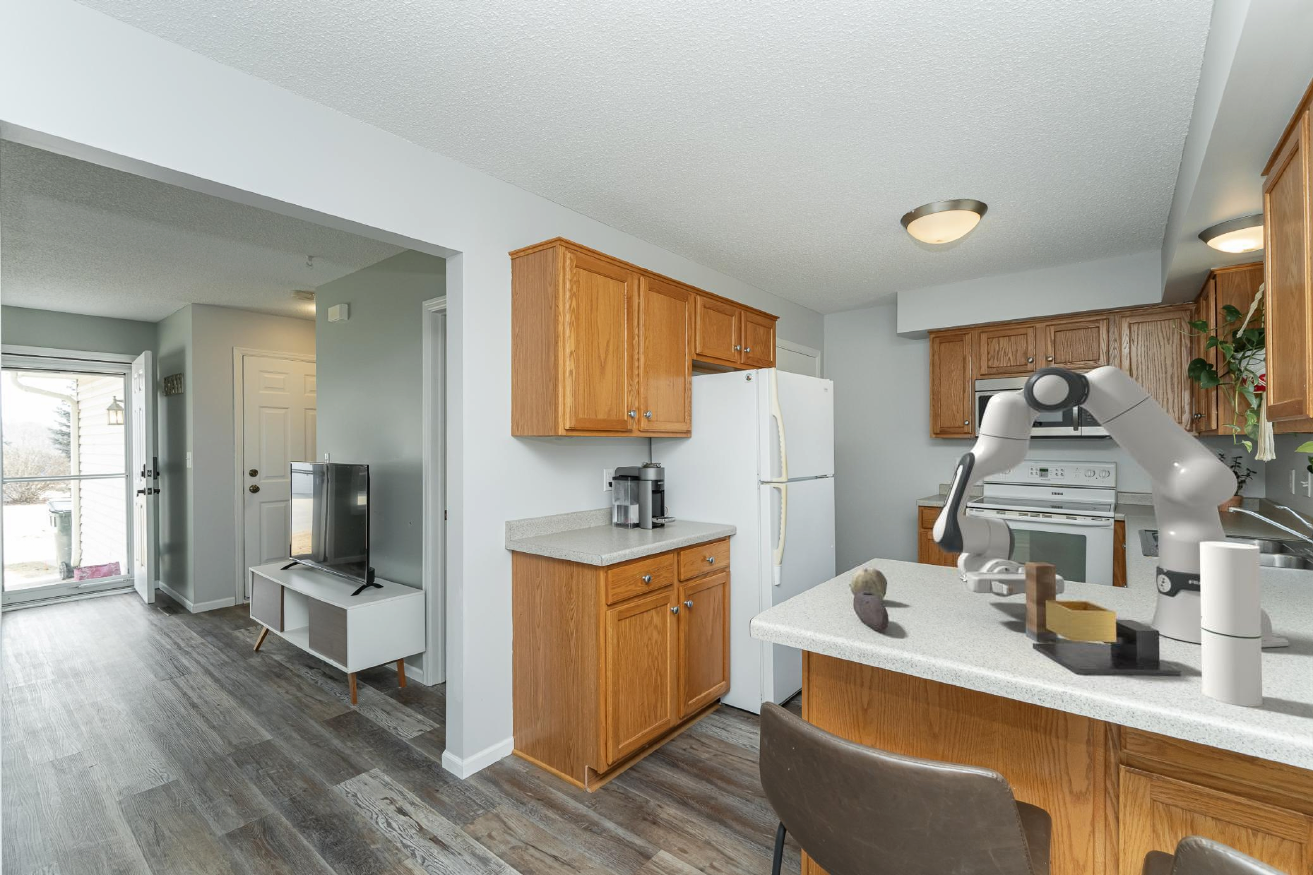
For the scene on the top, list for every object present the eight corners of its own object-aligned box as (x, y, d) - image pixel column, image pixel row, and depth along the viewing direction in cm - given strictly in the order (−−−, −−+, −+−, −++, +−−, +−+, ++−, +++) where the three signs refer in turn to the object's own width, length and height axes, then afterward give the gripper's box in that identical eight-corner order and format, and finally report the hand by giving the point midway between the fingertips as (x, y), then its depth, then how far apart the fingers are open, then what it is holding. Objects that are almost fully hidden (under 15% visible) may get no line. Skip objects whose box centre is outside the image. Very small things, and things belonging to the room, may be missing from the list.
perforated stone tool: (896, 636, 131) (895, 604, 131) (871, 636, 131) (871, 604, 131) (873, 617, 146) (873, 588, 146) (851, 616, 146) (851, 588, 146)
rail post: (1045, 636, 131) (1044, 562, 131) (1056, 642, 126) (1055, 566, 127) (1025, 635, 131) (1025, 562, 131) (1036, 642, 127) (1035, 566, 127)
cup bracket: (1124, 649, 122) (1123, 597, 122) (1180, 676, 108) (1179, 617, 108) (1032, 648, 123) (1032, 596, 123) (1076, 674, 109) (1075, 616, 109)
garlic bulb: (885, 611, 159) (899, 577, 157) (864, 610, 155) (877, 575, 153) (860, 593, 167) (872, 560, 165) (838, 591, 163) (851, 558, 161)
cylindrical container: (1260, 696, 99) (1257, 544, 99) (1264, 710, 94) (1261, 550, 94) (1201, 685, 104) (1199, 540, 104) (1202, 698, 99) (1200, 545, 99)
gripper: (955, 564, 147) (983, 576, 133) (1043, 564, 145) (1079, 576, 131) (956, 590, 146) (983, 605, 133) (1043, 590, 145) (1080, 605, 131)
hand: (1032, 591), depth 132 cm, fingers open, 8 cm apart
